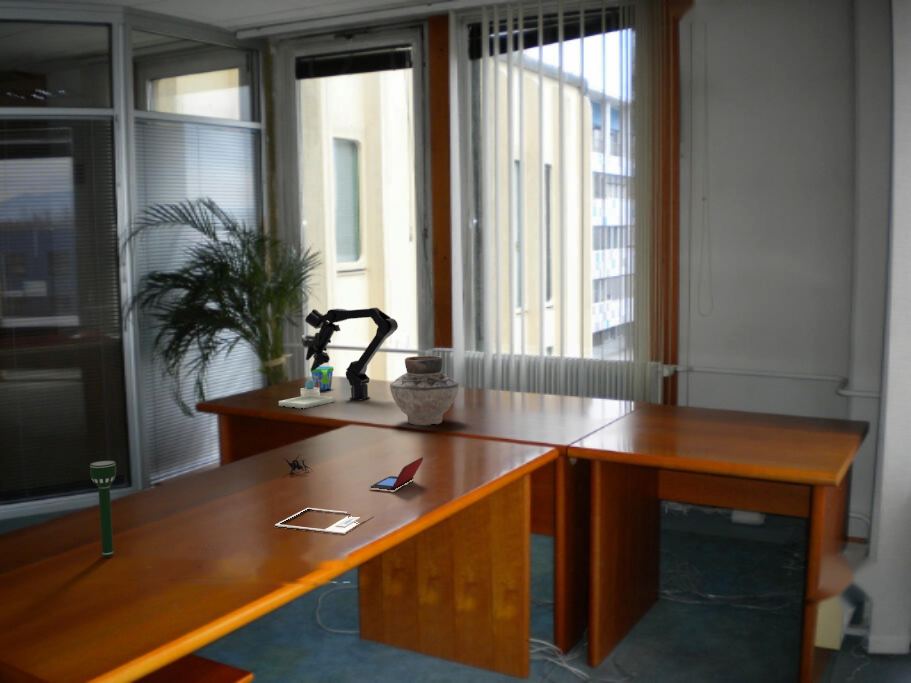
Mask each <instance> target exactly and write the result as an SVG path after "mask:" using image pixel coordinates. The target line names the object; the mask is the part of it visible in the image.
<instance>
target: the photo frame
mask: <svg viewBox="0 0 911 683" xmlns="http://www.w3.org/2000/svg"><path fill="white" fill-rule="evenodd" d="M307 509H312V510H322V511H330V512H341V513H342V512H343V513H347V512H348V511H341V510H332V509H331V510H330V509H323V508H313V507H307V508H304V509H303V510H301V511H299V512H296V513H295V514H293V515H291V516H289V517H287V518H286V519H284V520H281V521H279V522H278V523H275V525H274V527H275V526H278V527H287V528H299V529H309V530H316V531H324V532H332V533H343V534H345V533H346V532H347V531H349V530H350V529H352V528H353V527H355V526H356V525H358V524H360V523H358V522H356V520H358V519H359V518H360V517H352V516H351V517H349V518H348V516H349V515H346V516H345V517H344V518H342V519H340V520H339V521H337V522H335V523H334V524H331V525H330V526H329V527H326V528H324V529H323V528H314V527H306V526H297V525H287V524H283V523H282V522H284V521H286V520H288V519H289V520H291V519H293V518H295V517H297V516H299V515H301V514H302V513H301V512H303V511H305V510H306V511H308V510H307ZM312 510H311V511H312ZM306 511H305V512H306ZM300 513H301V514H300ZM303 513H304V512H303ZM298 514H299V515H298ZM296 515H297V516H296ZM294 516H295V517H294ZM292 517H293V518H292ZM290 518H291V519H290ZM289 520H288V521H289ZM286 522H287V521H286ZM354 522H356V523H358V524H356V523H354ZM280 523H282V524H280ZM284 523H285V522H284ZM278 527H277V528H278ZM287 528H286V529H287ZM332 533H331V534H332ZM345 535H346V534H345Z"/></svg>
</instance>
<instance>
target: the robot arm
mask: <svg viewBox="0 0 911 683" xmlns="http://www.w3.org/2000/svg"><path fill="white" fill-rule="evenodd" d="M365 318H371V319H372V321H373V322H374V324H375V325H376V326H377V328H376V331H375V332H376V333H375V336H374V337H373V338H372V340H371V341H370V343H369V344H368V345H367V347H366V348H365V350H364V351H363V353H362V355H361V356H360V357H359V359H358V360H355V361H354V360H353V361H351V362H350V363H349V366H347V368H345V369H346V371H345V378H346V379H347V380H348V383H349V386H351V388H350V391H351V392H350V393H351V394H350V395H351V397H349V399H350V400H356V399H363V400H366V399H365V398H368V399H370V398H371V396H368V395H369V392H368V390H369V389H368V388H369V387H368V386H369V383H370V377H369V376H368V375H367V374H366V372H367V370H368V365H369V364H370V362H371V360H373V358H374V356H375V355H376V354H377V352H378V350H379V349H380V348H381V346H382V345H383V343H384V342H385V341H386V339H388V338H389V337H391V335H393V334H394V333H395V332H396V330H398V327H399V326H398V321H397V320H396V319H394V318H391V316H390V315H388V314H387V313H385V312H383V311H382V310H381V309H380V308H378V307H371V308H362V309H345V308H332V309H331V308H330V309H328V310H327V312H326V313H325V314H322V313H320V312H319V311H318V310H317V309H316V308H314V309H312V310H311V311H310V312H309V313H308V315H306V317H305V320H304V321H305V323H306V324H308V325H309V326H310V327H313V329H315V330H318V329H319V331H318V332H316V333H315V334H314V335H311V334H303V335H302V336H301V344H302V346H303V347H306V348H307V351H306V354H305V355H306V356H305V360H306V361H309V360H310V359H312V358H313V362H312V365H311V367H310V368H311V370H312V371H313V370H315V369H316V368H318V367H319V366H323V364H328V363H329V361H330V360H331V359H330V355H329V353H328V352H327V350H328V348H327V346H328V345H329V344H331V342H332V341H331V339H332V337H333V335H334V333H335V332H336V333H337V332H341V328H340V324H335V323H339V322H343V321H344V322H345V321H348V320H351V319H365Z"/></svg>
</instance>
